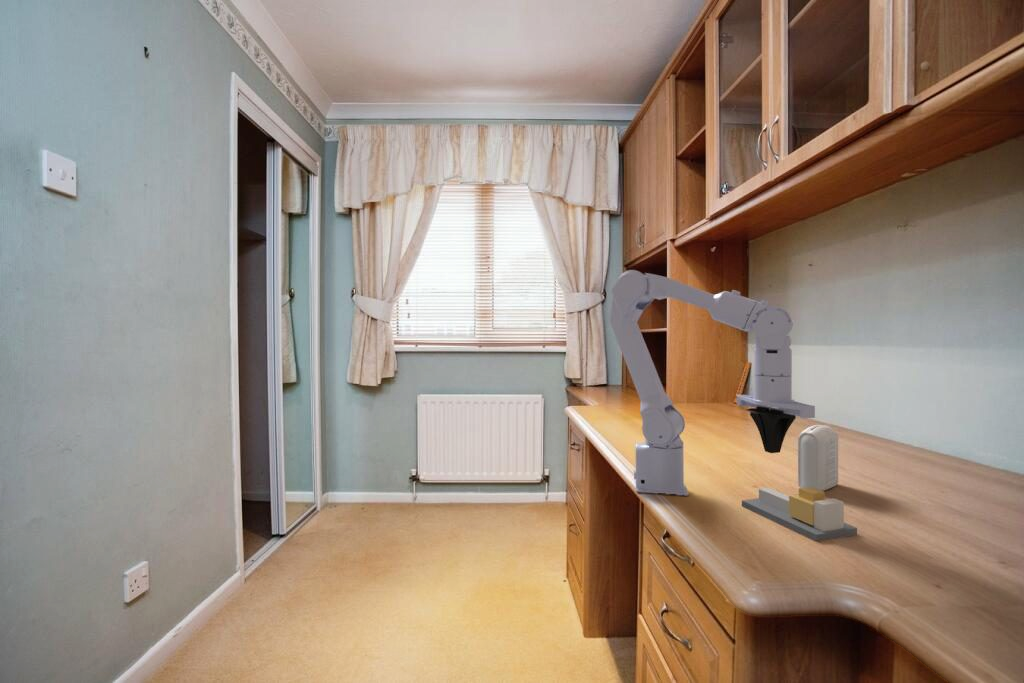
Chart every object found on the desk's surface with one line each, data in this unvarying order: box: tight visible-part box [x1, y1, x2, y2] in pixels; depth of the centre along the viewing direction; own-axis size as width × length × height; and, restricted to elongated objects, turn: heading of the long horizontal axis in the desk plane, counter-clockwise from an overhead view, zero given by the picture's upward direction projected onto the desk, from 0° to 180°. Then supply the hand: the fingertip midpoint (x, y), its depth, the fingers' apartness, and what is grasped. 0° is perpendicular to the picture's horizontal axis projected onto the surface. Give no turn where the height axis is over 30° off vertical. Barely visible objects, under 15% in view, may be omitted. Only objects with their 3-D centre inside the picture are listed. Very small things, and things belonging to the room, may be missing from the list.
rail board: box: [741, 487, 858, 542], centre depth 71 cm, size 14×8×5 cm, turn 15°
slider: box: [788, 487, 828, 526], centre depth 68 cm, size 4×5×4 cm
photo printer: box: [797, 424, 839, 492], centre depth 86 cm, size 10×4×12 cm, turn 123°
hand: (772, 451), depth 76 cm, fingers closed
